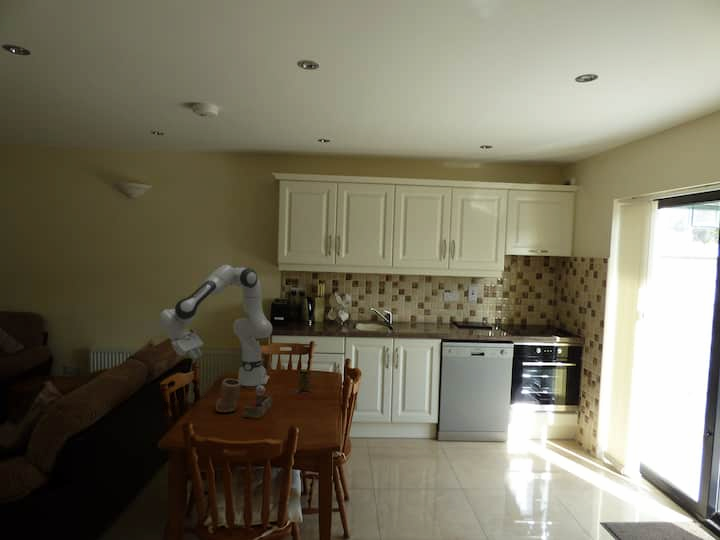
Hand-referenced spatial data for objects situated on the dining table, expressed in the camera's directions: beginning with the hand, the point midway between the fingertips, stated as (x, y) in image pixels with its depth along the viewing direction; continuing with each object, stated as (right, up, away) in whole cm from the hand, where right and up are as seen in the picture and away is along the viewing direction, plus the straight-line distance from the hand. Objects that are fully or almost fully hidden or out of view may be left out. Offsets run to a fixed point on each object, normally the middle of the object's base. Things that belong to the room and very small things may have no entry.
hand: (198, 356), depth 228 cm
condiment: (+50, -26, +30) cm, 64 cm away
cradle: (+31, -27, -3) cm, 41 cm away
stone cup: (+15, -26, -1) cm, 30 cm away
